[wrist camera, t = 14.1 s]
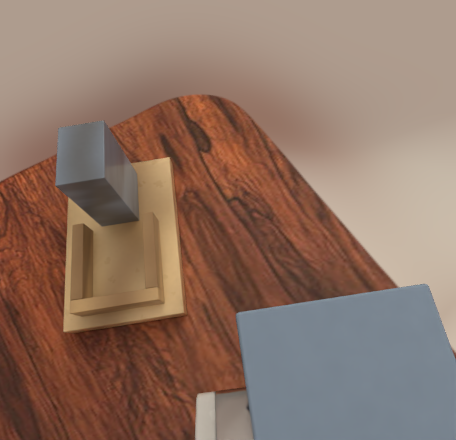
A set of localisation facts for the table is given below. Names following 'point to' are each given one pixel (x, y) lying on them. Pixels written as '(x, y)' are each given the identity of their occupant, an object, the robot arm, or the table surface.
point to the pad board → (117, 233)
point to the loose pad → (350, 368)
